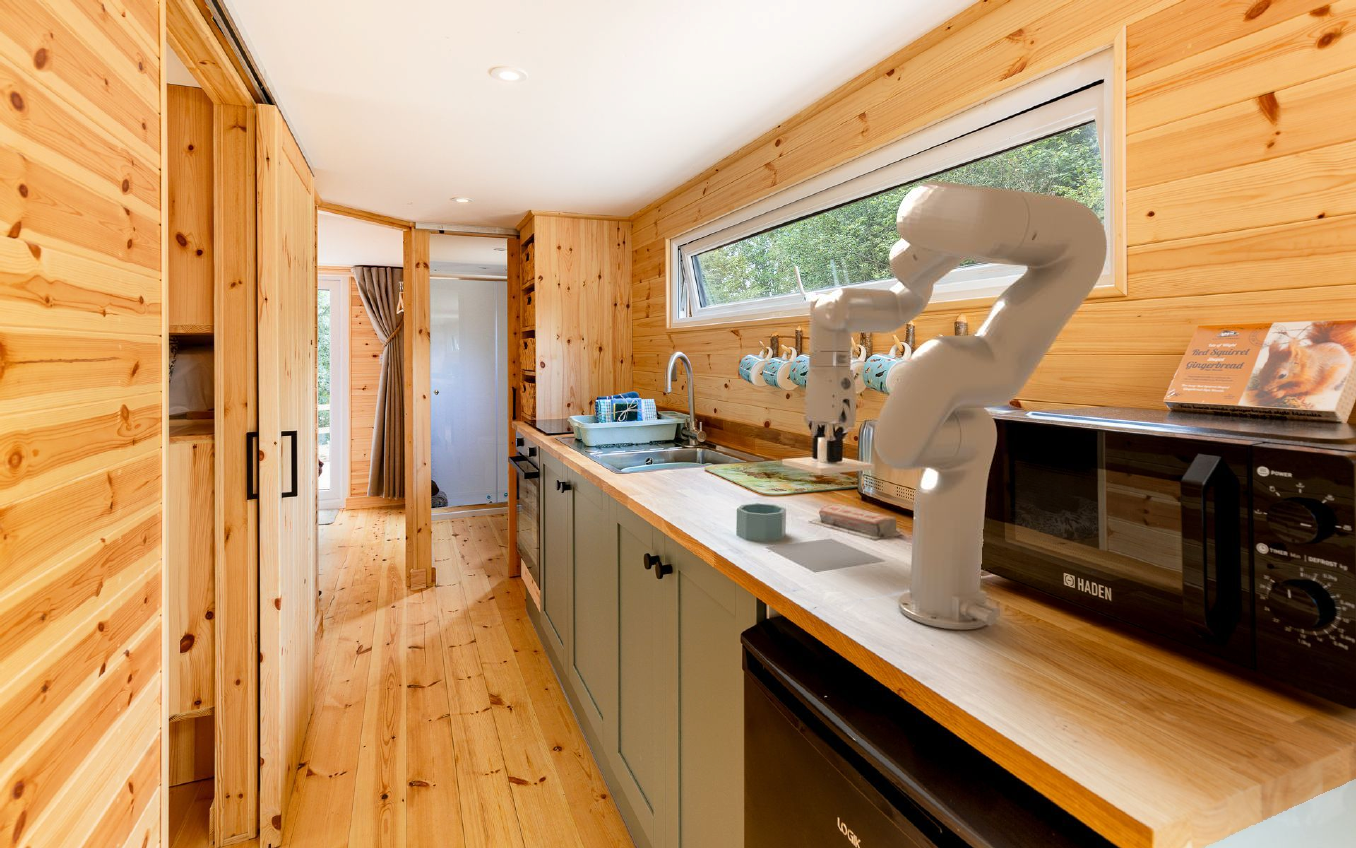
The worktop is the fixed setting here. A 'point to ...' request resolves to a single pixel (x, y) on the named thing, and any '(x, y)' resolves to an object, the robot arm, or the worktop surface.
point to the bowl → (761, 522)
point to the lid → (821, 462)
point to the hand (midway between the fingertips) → (827, 459)
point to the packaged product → (857, 522)
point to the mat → (824, 555)
